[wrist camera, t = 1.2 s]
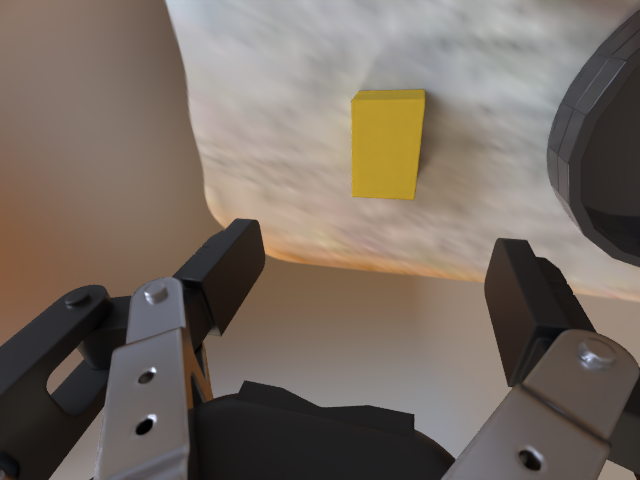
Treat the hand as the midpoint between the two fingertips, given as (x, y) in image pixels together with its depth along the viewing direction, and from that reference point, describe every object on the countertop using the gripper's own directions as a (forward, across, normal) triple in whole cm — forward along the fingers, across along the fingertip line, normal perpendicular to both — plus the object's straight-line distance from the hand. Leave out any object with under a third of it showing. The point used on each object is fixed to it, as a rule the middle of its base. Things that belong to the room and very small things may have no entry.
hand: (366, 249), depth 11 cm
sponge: (+13, 0, 0) cm, 13 cm away
